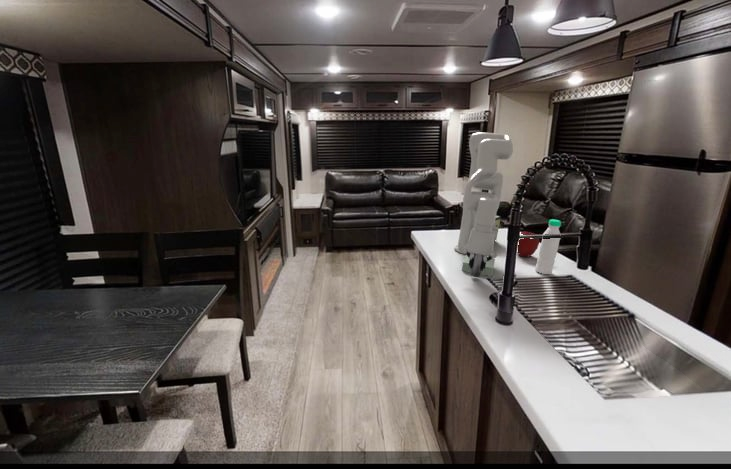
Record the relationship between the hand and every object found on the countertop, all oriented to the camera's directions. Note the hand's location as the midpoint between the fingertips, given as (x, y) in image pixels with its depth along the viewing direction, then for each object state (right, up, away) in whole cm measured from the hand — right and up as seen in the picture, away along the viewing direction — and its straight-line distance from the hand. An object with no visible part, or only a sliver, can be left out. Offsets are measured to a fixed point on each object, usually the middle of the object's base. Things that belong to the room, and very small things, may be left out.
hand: (476, 268), depth 144 cm
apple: (+36, +3, +34) cm, 49 cm away
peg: (0, -3, +1) cm, 3 cm away
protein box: (+20, +10, +52) cm, 57 cm away
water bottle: (+35, -3, +13) cm, 38 cm away
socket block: (+5, -1, +12) cm, 13 cm away
